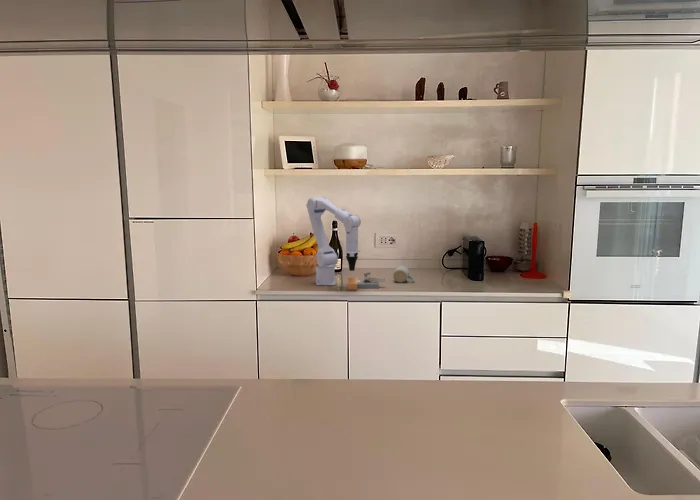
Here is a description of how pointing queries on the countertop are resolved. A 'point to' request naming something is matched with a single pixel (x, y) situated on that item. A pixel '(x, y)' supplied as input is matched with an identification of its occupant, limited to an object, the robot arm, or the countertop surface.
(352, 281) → the orange cube
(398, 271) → the ceramic mug
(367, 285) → the box
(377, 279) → the lever handle
